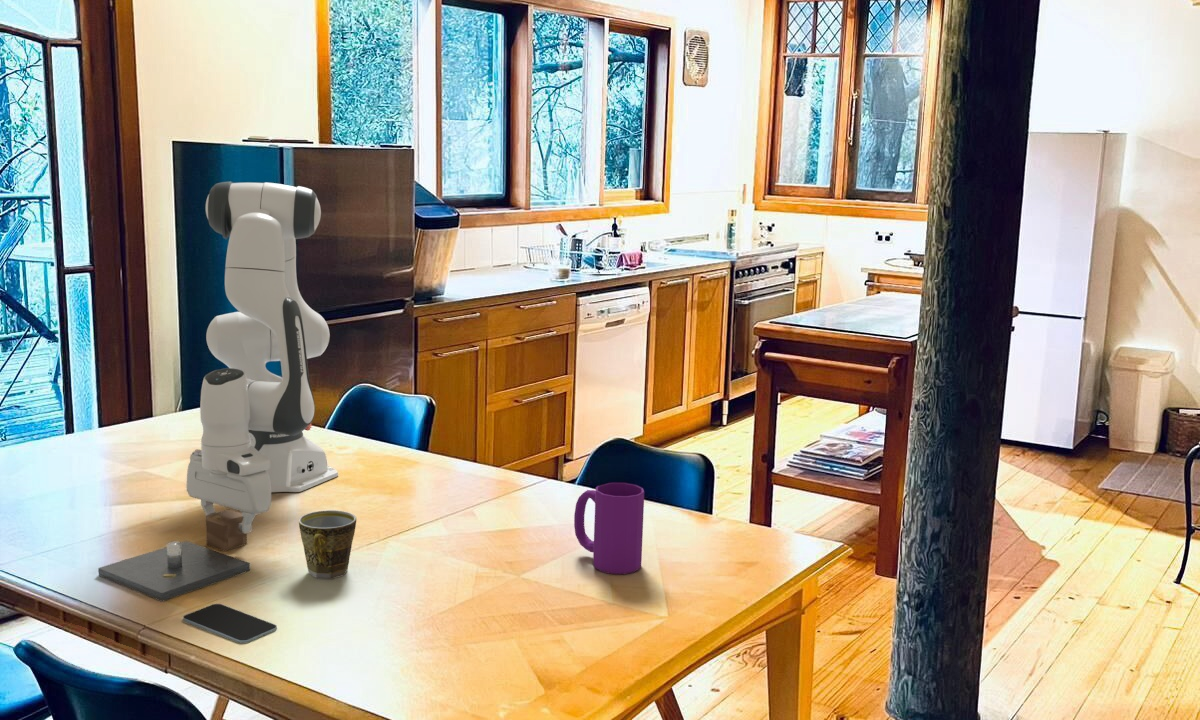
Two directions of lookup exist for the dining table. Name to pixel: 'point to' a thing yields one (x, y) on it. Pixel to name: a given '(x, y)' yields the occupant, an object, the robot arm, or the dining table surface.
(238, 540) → the taped cardboard carton
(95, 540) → the dining table surface
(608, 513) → the mug
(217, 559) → the plate
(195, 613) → the smartphone
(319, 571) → the ceramic cup
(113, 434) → the dining table surface
